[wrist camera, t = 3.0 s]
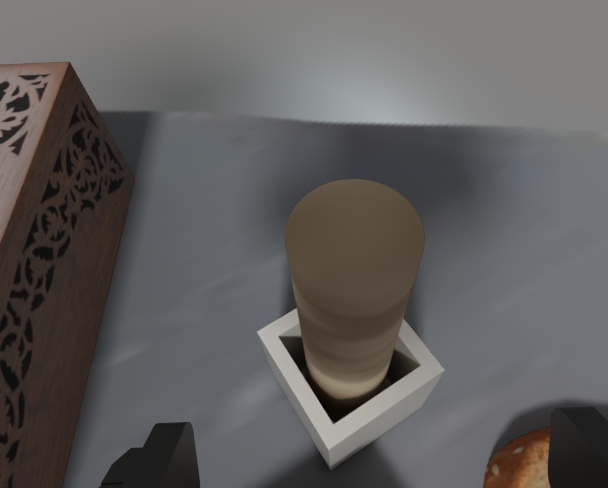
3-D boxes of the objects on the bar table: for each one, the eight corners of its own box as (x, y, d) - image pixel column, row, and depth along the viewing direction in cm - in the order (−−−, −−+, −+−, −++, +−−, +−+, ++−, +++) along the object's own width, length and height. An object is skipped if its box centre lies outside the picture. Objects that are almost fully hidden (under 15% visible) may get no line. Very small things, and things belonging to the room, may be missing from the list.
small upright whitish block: (274, 375, 26) (257, 331, 21) (358, 323, 28) (363, 267, 22) (330, 470, 24) (328, 449, 18) (420, 407, 25) (444, 370, 19)
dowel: (299, 378, 26) (259, 218, 13) (354, 343, 26) (370, 159, 14) (336, 438, 24) (334, 324, 11) (394, 399, 25) (454, 250, 12)
